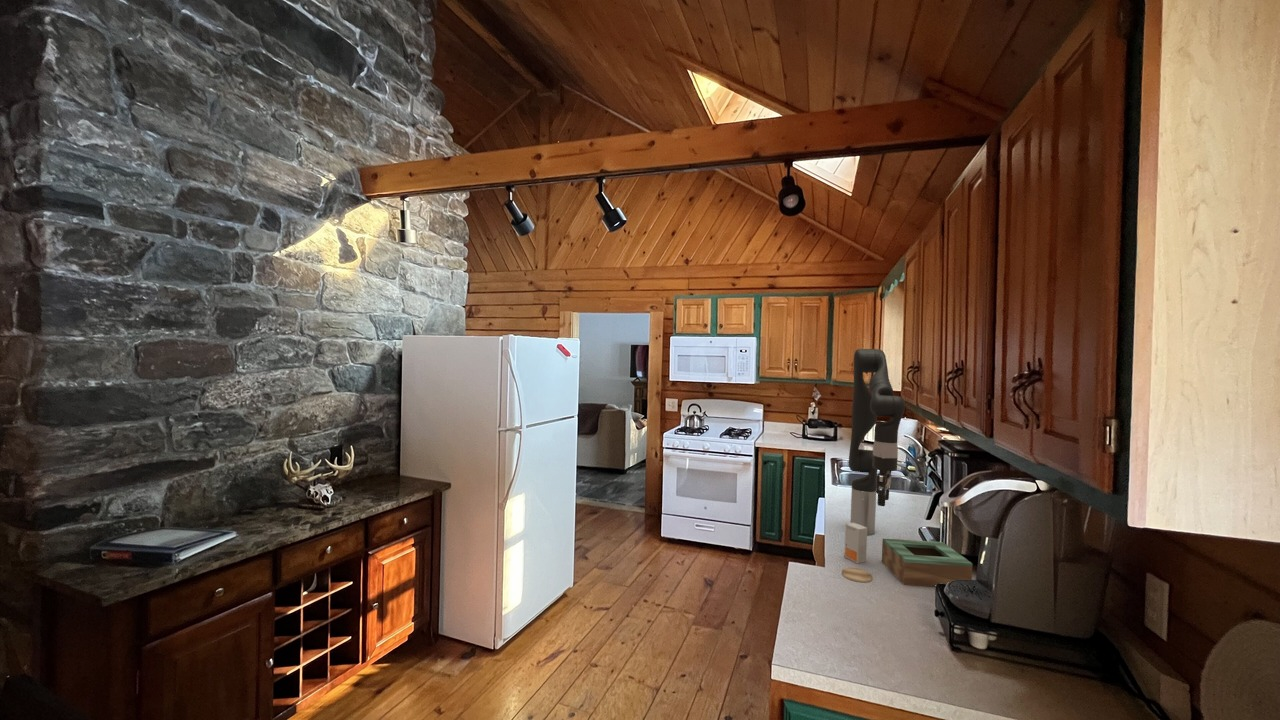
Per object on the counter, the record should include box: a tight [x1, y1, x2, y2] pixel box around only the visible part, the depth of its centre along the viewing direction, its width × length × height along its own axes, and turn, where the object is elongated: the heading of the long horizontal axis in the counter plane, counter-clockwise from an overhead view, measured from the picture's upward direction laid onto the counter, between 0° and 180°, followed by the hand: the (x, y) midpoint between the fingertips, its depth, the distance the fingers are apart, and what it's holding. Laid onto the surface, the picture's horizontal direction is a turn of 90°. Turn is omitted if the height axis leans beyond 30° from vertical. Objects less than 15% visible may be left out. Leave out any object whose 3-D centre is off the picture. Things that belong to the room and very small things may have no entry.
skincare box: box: [843, 522, 868, 564], centre depth 178 cm, size 6×4×12 cm
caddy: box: [881, 538, 973, 588], centre depth 167 cm, size 18×20×8 cm
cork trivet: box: [841, 567, 873, 583], centre depth 164 cm, size 9×9×1 cm
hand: (883, 502), depth 171 cm, fingers open, 8 cm apart
